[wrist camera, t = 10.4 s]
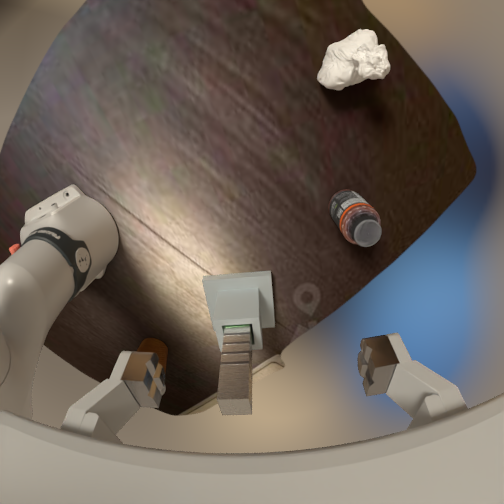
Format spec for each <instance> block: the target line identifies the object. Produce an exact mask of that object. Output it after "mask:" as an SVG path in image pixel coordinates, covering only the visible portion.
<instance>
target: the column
mask: <svg viewBox="0 0 504 504" xmlns="http://www.w3.org/2000/svg"><path fill="white" fill-rule="evenodd" d="M217 401H218V404H219V407H220V410H221V413H222V415H246V414H252V329H251V324H241V325H225V327H224V337H223V346H222V354H221V363H220V374H219V384H218V393H217Z"/></svg>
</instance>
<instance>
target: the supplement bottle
mask: <svg viewBox="0 0 504 504" xmlns="http://www.w3.org/2000/svg"><path fill="white" fill-rule="evenodd" d="M329 213H330V216H331V217H332V219H333V220H334V222H335V223H336V225H337V226H338V228H339V230H340V231H341V233H342V234H343V236H344V237H345V238H346V240H348V241H349V242H351V243H353V244H357V245H360V246H362V247H369V246H372V245H374V244H375V243H377V241H378V240H379V239H380V236H381V226H380V217H379V215H378V213H377V211H376V210H375V209H374V208H373V207H372V206H371V205H370V204H369V203H368V202H367V201H365V200H364V199H363V198H362V197H361V196H360V195H359V194H358V193H356V192H354V191H352V190H348V189H346V190H341V191H339V192H337V193H335V194H334V195H333V197H332V198H331V200H330V202H329Z"/></svg>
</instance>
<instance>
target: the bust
mask: <svg viewBox="0 0 504 504" xmlns="http://www.w3.org/2000/svg"><path fill="white" fill-rule="evenodd" d="M387 58H388V56H387V51H386V49H385V46H384V45H379V46H378V40H377V36H376V34H375V32H374V31H370V30H368V29H365V30H361V29H359V30H357V31H356V32H354V33H352V34H351V35H349V36H348V37H347V38H345V39H344V40H342V41H340V42H336V43H333V44H331V45H329V47H328V48H327V52H326V55H325V58H324V60H323V64H322V68H321V70H320V71H319V73H318V76H317V80H318V81H319V82H320V83H321V84H322V85H324V86H325V87H326V88H328V89H334V90H342V89H343V88H344V87H348V86H349V85H354V84H357V83H361V82H362V81H364V80H365V79H367V78H369V79H371V80H373V79H384V77H385V75H386V74H388V73H389V71H390V64H389V62H388V59H387Z"/></svg>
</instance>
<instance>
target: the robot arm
mask: <svg viewBox="0 0 504 504" xmlns="http://www.w3.org/2000/svg"><path fill="white" fill-rule="evenodd" d="M67 193H69V195H68V194H67ZM20 239H21V244H22V246H21V248H20V246H19V244H15V245H13V246H12V247H10V248H9V250H10V252H11V254H12V255H11V256H10V257H9V258H8V259H7V260H6V261H5V262H3V263H2V264H1V265H0V504H504V393H502V394H501V395H498V396H496V397H494V398H492V399H490V400H488V401H485V402H483V403H481V404H479V405H477V406H474V407H472V408H469V409H468V408H467V406H466V404H465V402H464V400H463V398H462V396H461V394H460V392H459V390H458V388H457V386H455V385H454V384H452V383H451V382H449V381H448V380H446V379H444V378H443V377H441V376H439V375H438V374H436V373H435V372H433V371H432V370H430V369H428V368H427V367H425V366H424V365H422V364H421V363H419V362H417V361H416V360H414V361H412V359H411V357H410V355H409V353H408V351H407V349H406V347H405V345H404V343H403V341H402V339H401V337H400V335H399V334H398V333H393V334H387V335H381V336H375V337H370V338H364V339H362V340H361V344H360V347H361V351H360V352H359V354H358V370H359V373H360V375H361V376H362V377H363V378H364V381H363V386H364V390H365V393H366V396H371V395H377V394H383V393H386V394H387V395H388V396H389V397H390V398H391V399H392V400H393V401H394V402H396V403H397V404H398V405H399V406H400V407H401V408H402V409H403V410H404V411H406V412H407V413H408V414H409V415H410V416H411V417H412V418H413V420H412V422H411V424H410V425H409V427H408V428H407V430H405V431H401V432H397V433H393V434H390V435H385V436H381V437H377V438H372V439H368V440H363V441H358V442H353V443H347V444H342V445H336V446H329V447H322V448H314V449H306V450H296V451H284V452H270V453H231V454H230V453H226V454H225V453H198V452H183V451H171V450H162V449H154V448H146V447H139V446H133V445H127V444H123V443H122V442H121V441H120V439H119V438H118V437H117V436H116V433H117V432H118V431H119V430H120V429H121V428H122V427H123V426H124V425H125V424H126V423H127V422H128V421H129V420H130V418H131V417H132V416H133V415H134V414H135V413H136V412H137V411H138V410H139V409H140V407H150V408H159V404H160V400H161V396H162V395H161V393H160V390H161V389H162V388H163V387H164V385H165V371H164V368H163V366H162V365H161V364H159V363H158V361H159V357H158V355H157V353H152V352H134V351H133V352H131V351H122V352H121V353H120V355H119V358H118V360H117V362H116V364H115V367H114V369H113V371H112V374H111V376H110V379H106V380H104V381H103V382H102V383H101V384H99V385H98V386H97V387H95V388H94V389H93V390H92V391H90V392H89V393H88V394H86V395H85V396H84V397H82V398H81V399H80V400H79V401H77V402H76V403H75V404H73V405H72V406H71V407H70V408H69V410H68V412H67V415H66V417H65V419H64V421H63V424H62V426H61V429H58V428H54V427H51V426H48V425H45V424H42V423H39V422H36V421H33V420H32V415H33V413H32V412H33V410H32V386H33V381H34V376H35V372H36V368H37V364H38V360H39V356H40V353H41V350H42V347H43V344H44V341H45V338H46V336H47V333H48V331H49V329H50V327H51V326H52V324H53V322H54V321H55V319H56V318H57V316H58V315H59V313H60V312H61V310H62V309H63V308H64V306H65V305H66V303H68V302H70V301H71V300H72V299H73V298H74V297H75V296H76V295H77V294H78V293H79V292H80V291H83V290H84V289H85V288H86V287H87V286H88V285H89V284H90V283H91V282H92V281H93V280H94V279H95V278H97V279H99V278H101V277H102V276H103V275H104V273H105V270H106V266H107V264H108V263H109V262H110V261H111V260H112V259H113V258H114V256H115V254H116V252H117V249H118V243H119V238H118V231H117V227H116V224H115V222H114V220H113V218H112V216H111V215H110V213H109V212H108V211H107V210H106V209H105V208H104V207H103V206H102V205H101V204H100V203H99V202H97V201H95V200H94V199H92V198H90V197H88V196H86V195H85V194H84V193H83V192H82V191H81V190H80V189H79V188H78V187H77V186H76V185H70V186H68V187H66V188H64V189H63V190H61V191H59V192H57V193H55V194H54V195H52V196H50V197H48V198H47V199H45V200H43V201H42V202H40V203H38V204H37V205H35V206H33V207H32V208H30V209H29V210H28V211H26V213H25V226H24V227H22V229H21V232H20Z"/></svg>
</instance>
